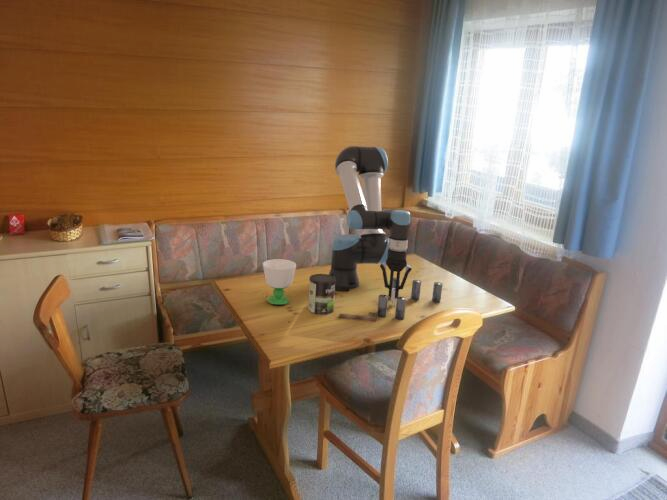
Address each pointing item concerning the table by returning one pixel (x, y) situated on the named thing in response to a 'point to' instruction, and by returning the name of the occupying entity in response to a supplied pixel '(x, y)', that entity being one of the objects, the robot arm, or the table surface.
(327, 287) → the coffee can
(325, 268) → the table surface
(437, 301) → the post
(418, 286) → the post
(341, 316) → the hook stick
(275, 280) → the cup
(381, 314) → the post
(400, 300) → the post
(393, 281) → the post
